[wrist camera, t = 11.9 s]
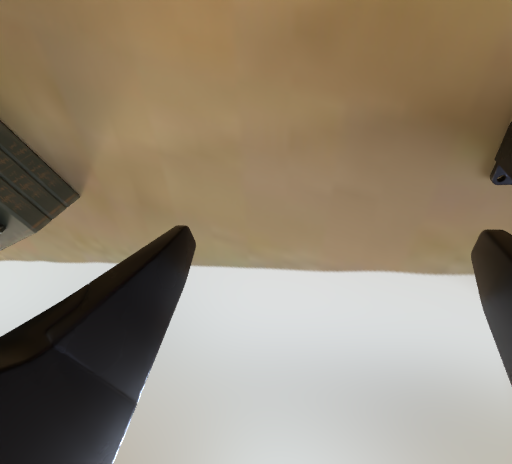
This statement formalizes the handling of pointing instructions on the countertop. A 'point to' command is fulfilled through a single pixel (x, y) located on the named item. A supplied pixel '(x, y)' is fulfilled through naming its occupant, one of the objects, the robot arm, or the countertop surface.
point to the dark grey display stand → (27, 191)
